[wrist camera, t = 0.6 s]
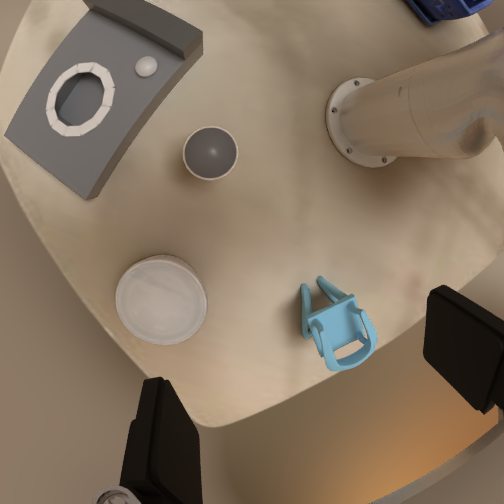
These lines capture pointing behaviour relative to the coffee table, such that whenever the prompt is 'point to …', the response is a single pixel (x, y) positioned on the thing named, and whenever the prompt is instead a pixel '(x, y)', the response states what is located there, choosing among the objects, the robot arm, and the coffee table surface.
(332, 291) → the chair
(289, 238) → the coffee table surface
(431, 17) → the flower pot
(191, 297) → the ramekin
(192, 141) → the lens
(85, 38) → the camera body
